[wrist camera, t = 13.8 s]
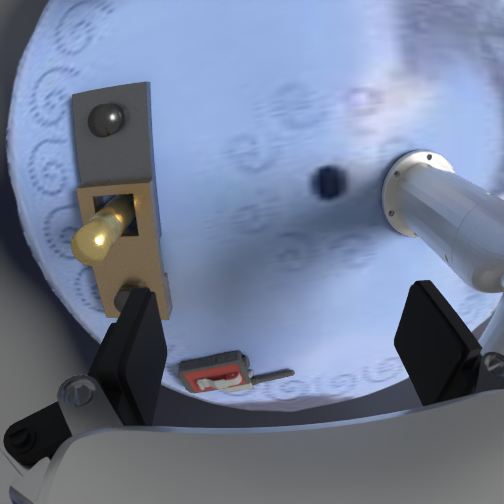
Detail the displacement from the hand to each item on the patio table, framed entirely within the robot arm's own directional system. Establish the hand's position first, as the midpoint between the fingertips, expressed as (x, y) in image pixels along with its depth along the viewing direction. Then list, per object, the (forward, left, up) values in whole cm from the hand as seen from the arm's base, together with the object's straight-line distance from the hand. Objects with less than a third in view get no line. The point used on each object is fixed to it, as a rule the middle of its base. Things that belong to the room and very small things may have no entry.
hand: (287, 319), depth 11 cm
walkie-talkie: (-15, +33, -31) cm, 47 cm away
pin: (+12, +14, -30) cm, 35 cm away
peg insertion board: (+12, +14, -30) cm, 35 cm away
